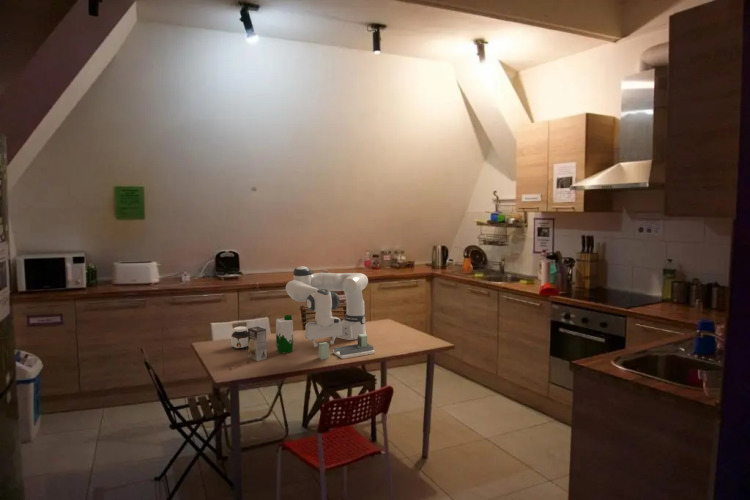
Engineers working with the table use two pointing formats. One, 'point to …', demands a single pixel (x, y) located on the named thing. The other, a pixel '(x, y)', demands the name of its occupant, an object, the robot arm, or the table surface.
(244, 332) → the spread jar
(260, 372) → the table surface
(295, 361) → the table surface
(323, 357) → the block
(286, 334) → the milk carton
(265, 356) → the coffee box
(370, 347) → the board
